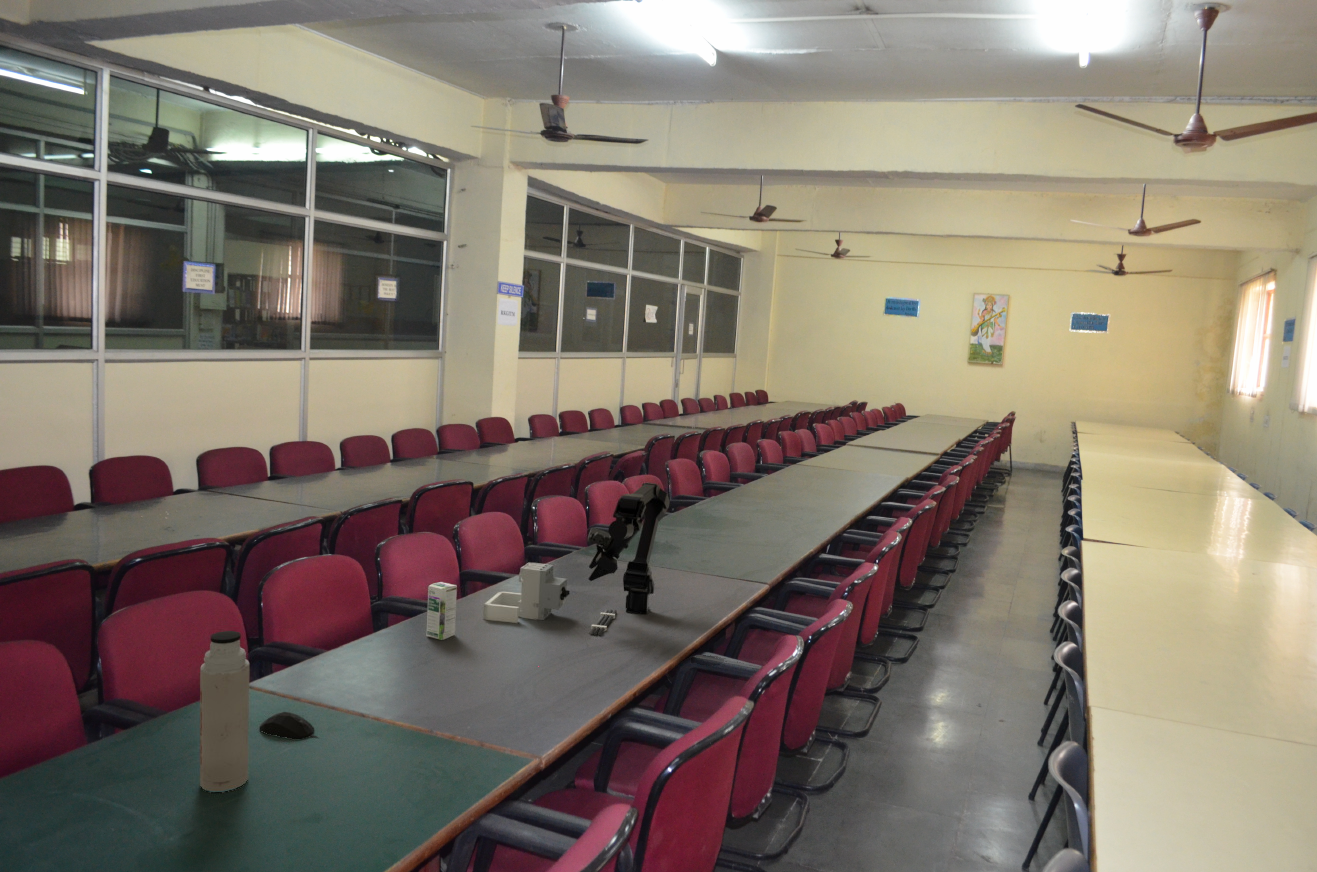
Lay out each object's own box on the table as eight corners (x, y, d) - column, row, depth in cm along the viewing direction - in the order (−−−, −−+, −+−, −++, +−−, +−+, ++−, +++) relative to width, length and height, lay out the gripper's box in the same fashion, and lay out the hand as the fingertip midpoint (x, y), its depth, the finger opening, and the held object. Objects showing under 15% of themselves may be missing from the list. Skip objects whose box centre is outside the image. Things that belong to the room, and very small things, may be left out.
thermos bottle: (192, 792, 160) (192, 641, 157) (210, 770, 168) (211, 626, 164) (238, 793, 160) (239, 642, 157) (254, 771, 168) (256, 627, 165)
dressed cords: (618, 612, 277) (618, 609, 277) (602, 636, 255) (602, 632, 255) (604, 611, 278) (604, 607, 278) (587, 634, 256) (587, 630, 256)
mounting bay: (531, 608, 276) (532, 594, 276) (516, 622, 262) (517, 607, 262) (499, 605, 278) (499, 591, 277) (483, 619, 264) (483, 604, 263)
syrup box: (425, 636, 246) (427, 585, 245) (440, 630, 252) (441, 580, 250) (441, 640, 244) (443, 588, 242) (455, 634, 249) (457, 584, 247)
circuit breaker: (562, 622, 265) (565, 573, 263) (517, 616, 268) (519, 568, 266) (570, 615, 272) (572, 567, 271) (525, 609, 275) (528, 562, 273)
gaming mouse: (312, 747, 180) (312, 728, 180) (252, 733, 185) (252, 714, 184) (332, 734, 186) (333, 716, 186) (274, 721, 191) (275, 703, 190)
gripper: (601, 509, 273) (569, 546, 275) (601, 530, 255) (567, 570, 257) (629, 530, 275) (597, 567, 278) (631, 553, 257) (597, 592, 259)
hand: (589, 573), depth 268 cm, fingers open, 9 cm apart
